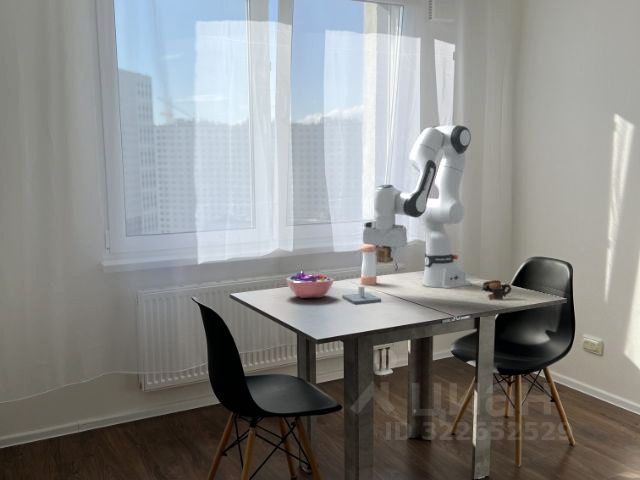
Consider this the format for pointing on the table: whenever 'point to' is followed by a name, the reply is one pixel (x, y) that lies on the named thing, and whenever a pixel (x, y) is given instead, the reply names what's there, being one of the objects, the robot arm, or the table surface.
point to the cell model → (309, 285)
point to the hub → (361, 297)
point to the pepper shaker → (368, 266)
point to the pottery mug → (496, 289)
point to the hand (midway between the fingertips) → (384, 256)
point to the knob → (384, 254)
